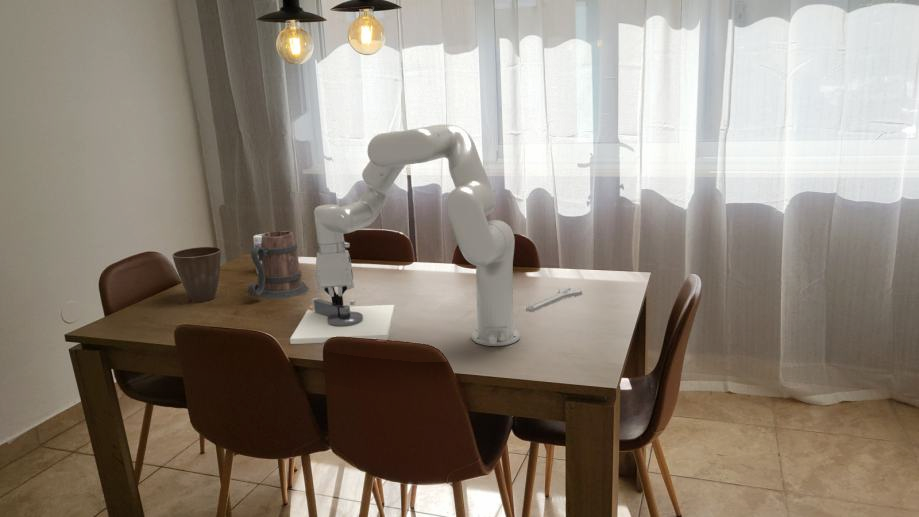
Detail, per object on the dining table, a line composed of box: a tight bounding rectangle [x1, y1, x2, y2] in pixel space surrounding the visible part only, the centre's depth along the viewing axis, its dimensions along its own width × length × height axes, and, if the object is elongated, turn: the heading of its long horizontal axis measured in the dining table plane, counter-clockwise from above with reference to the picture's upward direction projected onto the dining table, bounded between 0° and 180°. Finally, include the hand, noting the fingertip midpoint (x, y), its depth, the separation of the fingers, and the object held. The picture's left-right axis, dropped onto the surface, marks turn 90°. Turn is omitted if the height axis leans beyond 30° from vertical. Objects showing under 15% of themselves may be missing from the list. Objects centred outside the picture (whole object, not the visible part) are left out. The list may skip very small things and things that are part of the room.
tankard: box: [247, 230, 310, 300], centre depth 232 cm, size 24×17×20 cm
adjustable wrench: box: [525, 286, 583, 313], centre depth 216 cm, size 25×6×2 cm, turn 131°
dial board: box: [289, 298, 396, 345], centre depth 203 cm, size 30×26×2 cm
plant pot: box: [171, 246, 222, 303], centre depth 230 cm, size 15×15×16 cm
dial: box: [310, 297, 363, 326], centre depth 203 cm, size 19×10×4 cm, turn 48°
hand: (338, 308), depth 207 cm, fingers closed
